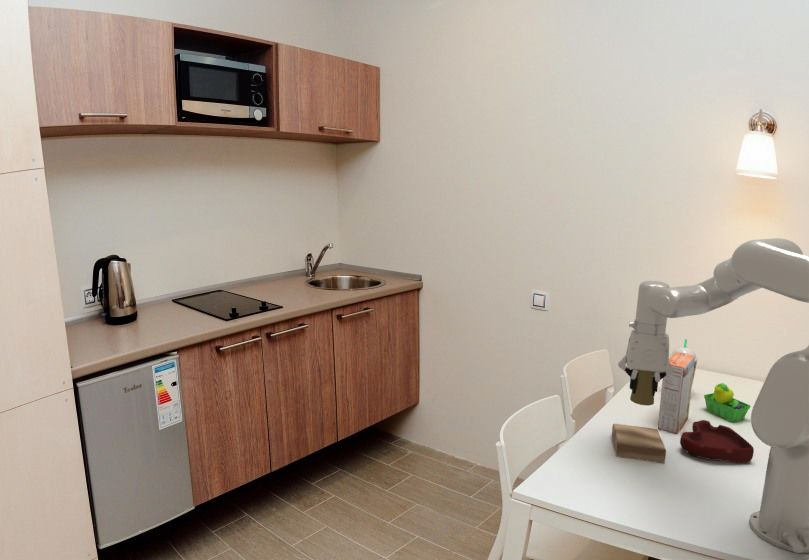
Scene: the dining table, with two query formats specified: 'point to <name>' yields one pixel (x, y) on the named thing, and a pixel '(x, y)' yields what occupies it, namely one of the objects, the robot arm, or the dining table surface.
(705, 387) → the dining table surface
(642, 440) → the walnut stand
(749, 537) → the dining table surface
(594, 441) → the dining table surface
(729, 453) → the ashtray
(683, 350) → the smoothie
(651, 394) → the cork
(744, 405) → the fruit basket
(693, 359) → the cracker box
